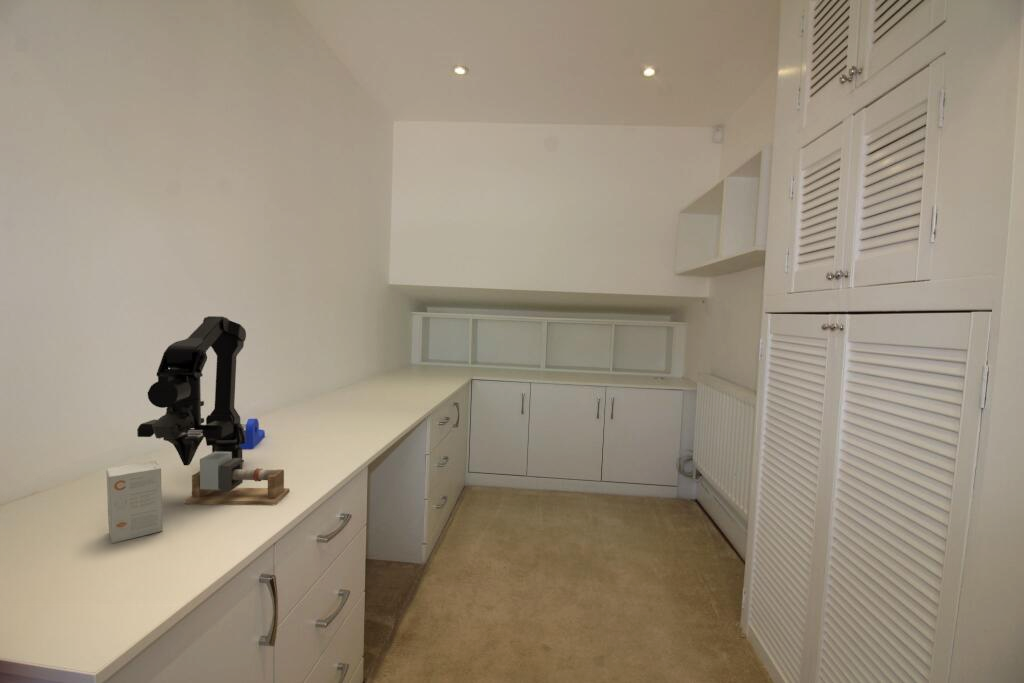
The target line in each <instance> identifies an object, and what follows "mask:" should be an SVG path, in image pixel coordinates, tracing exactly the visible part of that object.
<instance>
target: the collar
mask: <svg viewBox="0 0 1024 683" xmlns="http://www.w3.org/2000/svg"><path fill="white" fill-rule="evenodd" d="M242 460H243V457H242V458H233V459H231V460H230V461H228V462H226V463H224V464H223V465H221V466H220V492H230V491H231V490H233V489H234V488H238V486H240V485H242V483H243V482H244V480H232V477H231V469H243V462H242Z"/></svg>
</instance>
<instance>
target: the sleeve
mask: <svg viewBox="0 0 1024 683" xmlns="http://www.w3.org/2000/svg"><path fill="white" fill-rule="evenodd" d="M231 459H232V452H213V453H212V452H211V453H209V454H207V455H206V456H204V457H201V458H199V471H200V489H213V490H218V489H220V466H221V465H223V464H224V463H226V462H228V461H230V460H231Z"/></svg>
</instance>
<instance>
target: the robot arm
mask: <svg viewBox="0 0 1024 683" xmlns="http://www.w3.org/2000/svg"><path fill="white" fill-rule="evenodd" d="M246 337H247V331H246V329H245V328H244V327H243V325H242V324H240V323H238V322H235V321H232V320H231V319H229V318H228V317H225V316H221V315H220V316H219V315H218V316H215V315H214V316H209V315H208V316H204V318H203V320H202V323H200V325H199V326H198V327H197V328H196V329H195V330H194V331H193V332H192V333H191V334H190V335H189V336H188V337H186V338H185V339H182V340H177V341H175V342H174V343H171V344H170V345H168V346H167V348H166V349H165V350H164V352H163V354H162V357H161V360H160V364H159V366H158V369H157V371H156V377H157V381H156V382H154V383H152V384H151V386H150V387H149V388H148V391H147V398H148V400H149V402H150V403H151V404H152V405H153V406H155V407H157V408H160V409H164V408H166V412H165V414H164V415H162V416H160V418H158V419H152V420H149V421H145V422H143V423H140V424H139V425H138V427H137V430H136V431H137V433H136V434H137V437H138V438H151V437H152V436H153V435H154V437H155V438H156V439H159V440H160V439H163V441H165V442H166V441H167V442H169V443H170V444H172V446H174V448H175V451H176V452H177V454H178V456H179V459H180V460H181V462H182V464H183V466H185V467H188V466H190V465H191V462H192V461H193V459H194V457H195V455H196V453H197V451H198V449H199V446H200V445H201V443H202V441H203V440H204V438H205V443H206V446H207V447H209V446H211V451H212V452H211V453H213V452H232V459H233V458H242V463H244V459H243V449H242V447H241V444H244V443H246V432H245V430H246V429H244V427H243V425H242V423H241V416H240V414H239V413H238V411H237V410H236V408H235V399H236V398H235V397H236V377H237V376H236V373H237V356H238V355H239V353H240V352H241V351H242V350H243V348H244V346H245V345H244V344H245V341H246ZM210 348H211V349H212V350H213V352H214V353H215V354H216V371H215V390H214V391H215V392H214V393H215V395H214V409H213V410H212V411H211V413H210V414H208V415H207V416H206V418H205V417H202V413H201V412H202V411H201V410H202V408H201V407H202V406H205V401H204V400H202V399H201V398H202V397H201V394H202V393H201V377H203V369H204V367H205V365H206V363H207V360H208V355H207V351H208V350H209V349H210ZM204 423H206V424H204Z"/></svg>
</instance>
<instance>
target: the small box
mask: <svg viewBox="0 0 1024 683" xmlns="http://www.w3.org/2000/svg"><path fill="white" fill-rule="evenodd" d="M106 488H107V489H106V490H107V492H106V493H107V517H108V518H107V520H108V533H109V534H108V535H109V538H110V542H111V544H115V543H120V542H123V541H127V540H131V539H135V538H139V537H143V536H147V535H151V534H155V533H161V532H163V494H162V492H163V491H162V468H161V467H160V465H159V463H158V462H157V461H156V460H152V461H145V462H140V463H132V464H126V465H120V466H114V467H107V468H106Z"/></svg>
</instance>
